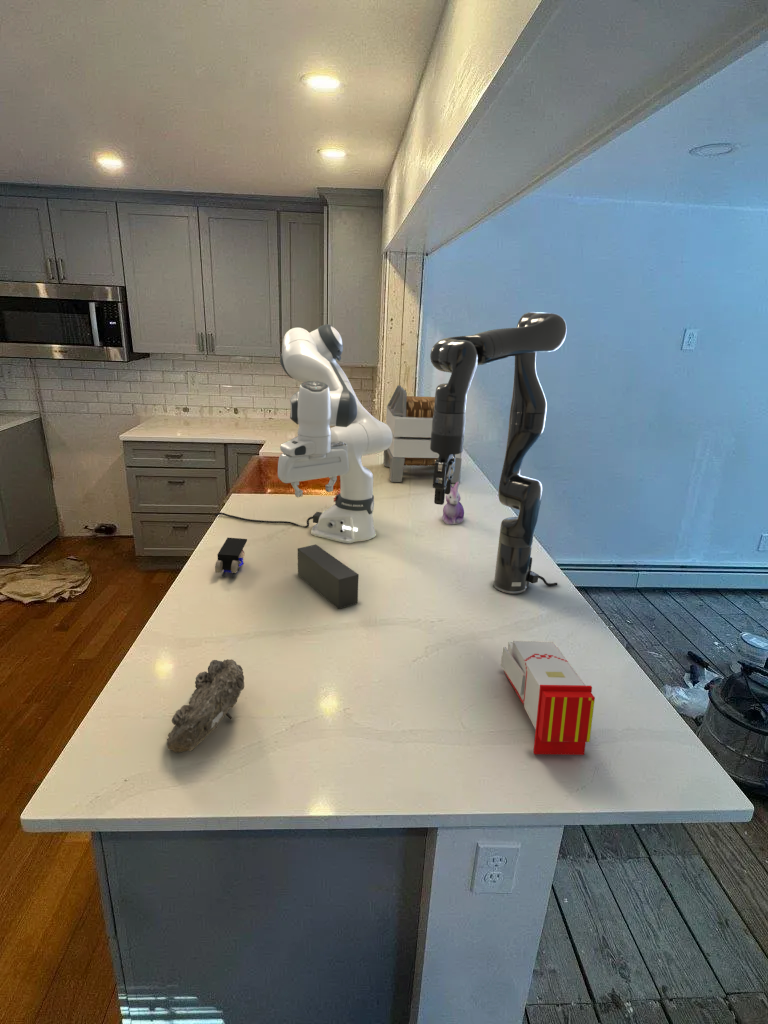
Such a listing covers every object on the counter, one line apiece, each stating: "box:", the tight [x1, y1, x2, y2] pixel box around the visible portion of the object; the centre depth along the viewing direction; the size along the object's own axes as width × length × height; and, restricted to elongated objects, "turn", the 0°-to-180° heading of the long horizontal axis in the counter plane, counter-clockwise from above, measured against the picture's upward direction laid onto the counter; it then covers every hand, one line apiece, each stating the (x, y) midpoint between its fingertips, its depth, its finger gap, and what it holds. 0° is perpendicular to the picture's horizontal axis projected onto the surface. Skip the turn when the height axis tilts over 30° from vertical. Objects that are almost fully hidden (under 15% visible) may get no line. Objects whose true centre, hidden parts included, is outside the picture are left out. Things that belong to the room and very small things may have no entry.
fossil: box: [166, 658, 245, 754], centre depth 106 cm, size 22×10×15 cm
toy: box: [500, 640, 596, 756], centre depth 114 cm, size 12×13×30 cm
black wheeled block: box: [214, 537, 248, 578], centre depth 166 cm, size 7×8×15 cm
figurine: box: [441, 482, 465, 525], centre depth 212 cm, size 9×10×15 cm
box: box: [297, 544, 359, 610], centre depth 158 cm, size 23×6×9 cm, turn 36°
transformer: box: [383, 384, 463, 484], centre depth 268 cm, size 34×33×41 cm
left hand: (314, 493), depth 155 cm, fingers open, 8 cm apart
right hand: (442, 498), depth 134 cm, fingers open, 8 cm apart
